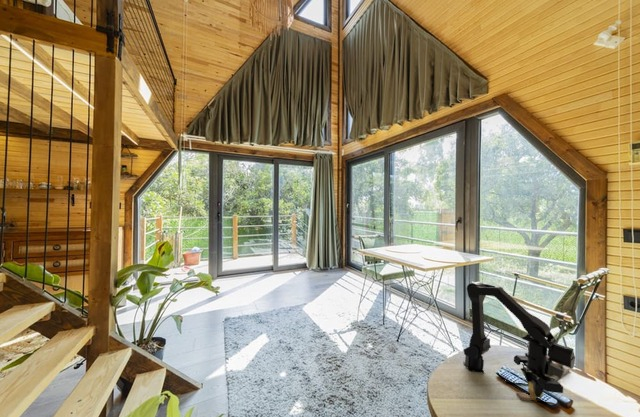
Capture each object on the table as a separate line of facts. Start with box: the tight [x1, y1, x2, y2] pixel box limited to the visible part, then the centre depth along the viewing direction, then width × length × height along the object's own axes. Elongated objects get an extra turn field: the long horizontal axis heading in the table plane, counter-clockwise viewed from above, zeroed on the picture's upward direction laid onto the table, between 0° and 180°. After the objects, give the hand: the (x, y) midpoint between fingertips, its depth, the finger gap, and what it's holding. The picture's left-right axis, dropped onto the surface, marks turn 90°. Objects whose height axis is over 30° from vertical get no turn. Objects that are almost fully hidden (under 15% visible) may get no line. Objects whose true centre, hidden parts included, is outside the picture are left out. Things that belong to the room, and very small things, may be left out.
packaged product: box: [545, 355, 570, 381], centre depth 122 cm, size 18×5×10 cm
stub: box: [515, 381, 544, 401], centre depth 103 cm, size 12×3×6 cm, turn 84°
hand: (535, 393), depth 103 cm, fingers closed on stub, 2 cm apart
